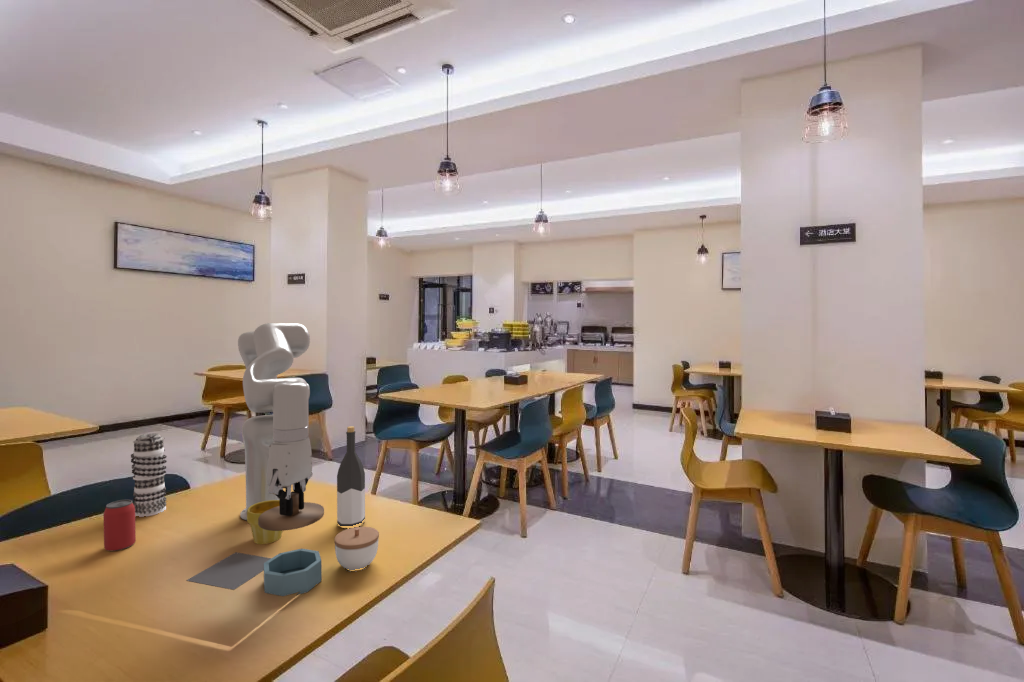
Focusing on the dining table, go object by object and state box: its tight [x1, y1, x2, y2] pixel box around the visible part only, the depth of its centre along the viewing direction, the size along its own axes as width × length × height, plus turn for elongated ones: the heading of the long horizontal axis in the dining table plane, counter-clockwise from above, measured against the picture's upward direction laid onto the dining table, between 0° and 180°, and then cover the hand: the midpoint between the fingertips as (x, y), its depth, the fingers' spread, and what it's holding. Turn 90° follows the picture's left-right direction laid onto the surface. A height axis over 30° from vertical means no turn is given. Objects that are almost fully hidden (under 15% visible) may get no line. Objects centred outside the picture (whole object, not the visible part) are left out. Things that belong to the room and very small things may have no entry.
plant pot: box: [246, 500, 283, 545], centre depth 130 cm, size 10×10×10 cm
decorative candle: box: [130, 433, 168, 518], centre depth 150 cm, size 9×9×25 cm
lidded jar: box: [334, 526, 380, 570], centre depth 117 cm, size 11×11×9 cm
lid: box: [258, 492, 325, 532], centre depth 109 cm, size 14×14×6 cm
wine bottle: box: [336, 425, 366, 526], centre depth 141 cm, size 8×8×30 cm
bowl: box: [263, 548, 323, 597], centre depth 109 cm, size 12×12×5 cm
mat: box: [186, 552, 272, 591], centre depth 114 cm, size 14×14×1 cm
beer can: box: [102, 499, 137, 552], centre depth 126 cm, size 7×7×12 cm
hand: (291, 511), depth 109 cm, fingers closed on lid, 3 cm apart
